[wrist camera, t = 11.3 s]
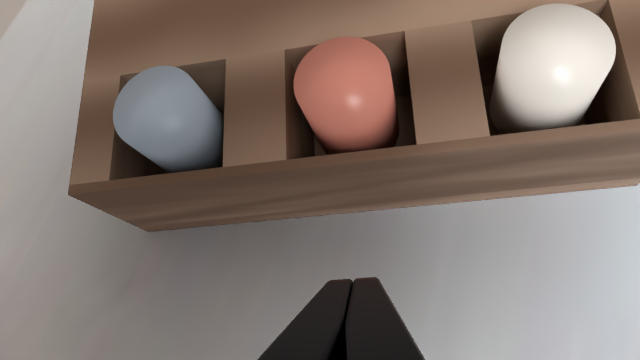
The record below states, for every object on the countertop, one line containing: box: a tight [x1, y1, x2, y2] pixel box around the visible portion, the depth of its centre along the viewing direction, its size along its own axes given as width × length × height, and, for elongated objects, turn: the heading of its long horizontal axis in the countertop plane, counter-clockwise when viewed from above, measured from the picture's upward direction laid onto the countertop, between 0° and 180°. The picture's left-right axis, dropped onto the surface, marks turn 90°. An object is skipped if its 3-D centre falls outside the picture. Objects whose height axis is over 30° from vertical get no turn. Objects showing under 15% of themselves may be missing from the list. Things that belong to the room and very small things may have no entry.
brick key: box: [294, 37, 399, 155], centre depth 20 cm, size 3×3×4 cm
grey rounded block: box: [113, 66, 224, 173], centre depth 21 cm, size 3×3×4 cm
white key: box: [489, 4, 616, 135], centre depth 19 cm, size 3×3×4 cm
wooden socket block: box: [68, 0, 640, 232], centre depth 22 cm, size 10×22×6 cm, turn 92°
